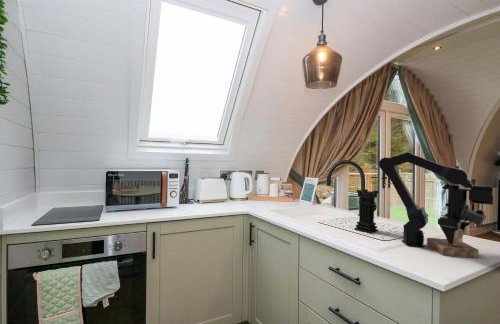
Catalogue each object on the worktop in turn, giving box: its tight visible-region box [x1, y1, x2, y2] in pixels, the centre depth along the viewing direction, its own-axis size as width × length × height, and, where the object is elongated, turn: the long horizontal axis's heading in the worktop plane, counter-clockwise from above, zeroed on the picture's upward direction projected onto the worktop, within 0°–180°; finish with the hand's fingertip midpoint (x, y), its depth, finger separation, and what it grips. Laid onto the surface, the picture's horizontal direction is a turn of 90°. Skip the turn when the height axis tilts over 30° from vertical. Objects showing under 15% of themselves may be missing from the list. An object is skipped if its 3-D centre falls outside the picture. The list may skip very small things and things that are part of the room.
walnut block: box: [426, 237, 479, 259], centre depth 106 cm, size 12×12×3 cm
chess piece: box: [353, 188, 379, 234], centre depth 132 cm, size 8×8×20 cm
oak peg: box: [448, 229, 464, 248], centre depth 103 cm, size 4×4×9 cm
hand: (455, 241), depth 103 cm, fingers open, 9 cm apart
